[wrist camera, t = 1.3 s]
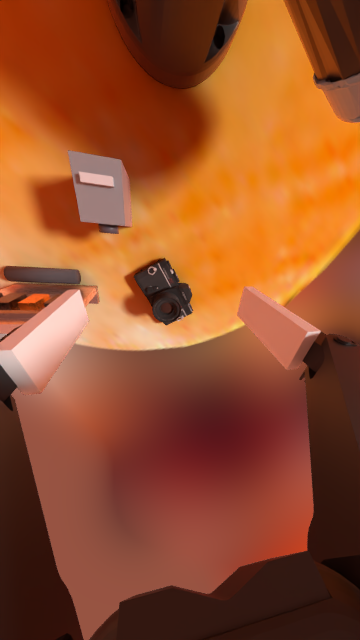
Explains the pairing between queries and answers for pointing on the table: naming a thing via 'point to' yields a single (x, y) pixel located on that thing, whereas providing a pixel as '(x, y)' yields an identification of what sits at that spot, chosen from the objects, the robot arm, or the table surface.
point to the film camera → (165, 292)
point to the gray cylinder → (42, 275)
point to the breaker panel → (34, 301)
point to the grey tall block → (101, 191)
